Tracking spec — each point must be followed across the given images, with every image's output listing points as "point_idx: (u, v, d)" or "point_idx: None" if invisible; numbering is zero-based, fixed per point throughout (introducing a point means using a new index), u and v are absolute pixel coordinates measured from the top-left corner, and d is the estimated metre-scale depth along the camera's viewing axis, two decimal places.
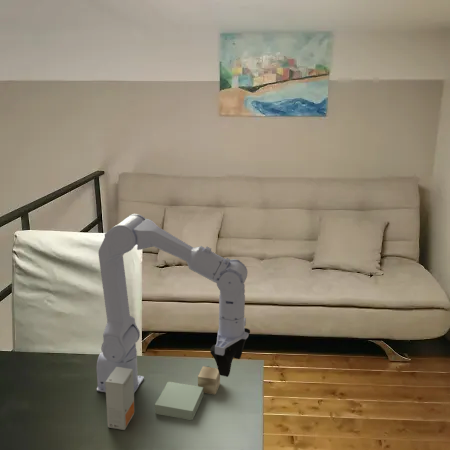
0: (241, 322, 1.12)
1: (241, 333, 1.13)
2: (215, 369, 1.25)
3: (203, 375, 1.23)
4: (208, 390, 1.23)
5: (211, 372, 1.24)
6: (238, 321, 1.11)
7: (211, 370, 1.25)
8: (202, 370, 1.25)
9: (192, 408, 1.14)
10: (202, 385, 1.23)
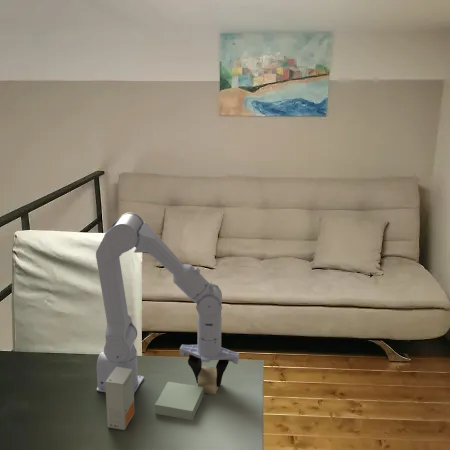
0: (203, 344, 1.19)
1: (203, 354, 1.20)
2: (215, 369, 1.25)
3: (203, 375, 1.23)
4: (208, 390, 1.23)
5: (211, 372, 1.24)
6: (200, 340, 1.19)
7: (211, 370, 1.25)
8: (202, 370, 1.25)
9: (192, 408, 1.14)
10: (201, 385, 1.23)
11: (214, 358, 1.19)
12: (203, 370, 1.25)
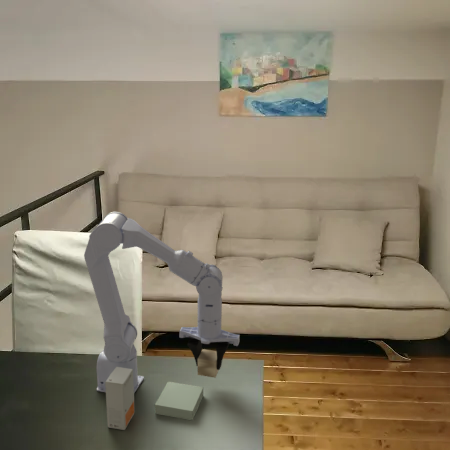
0: (203, 325, 1.17)
1: (203, 336, 1.18)
2: (215, 352, 1.24)
3: (203, 358, 1.21)
4: (208, 373, 1.21)
5: (211, 355, 1.23)
6: (200, 322, 1.18)
7: (211, 353, 1.23)
8: (202, 353, 1.23)
9: (192, 408, 1.14)
10: (201, 368, 1.21)
11: (214, 340, 1.18)
12: (203, 353, 1.23)
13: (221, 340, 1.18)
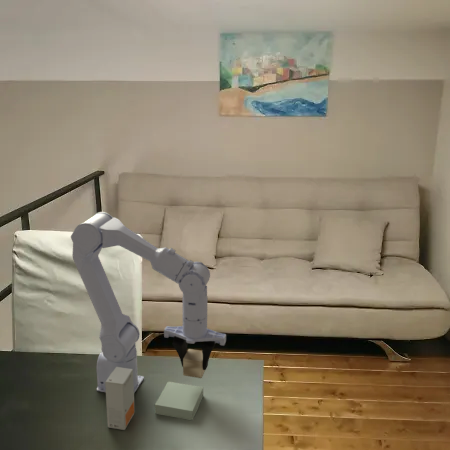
0: (188, 324, 1.14)
1: (188, 335, 1.14)
2: (201, 352, 1.20)
3: (189, 358, 1.18)
4: (194, 373, 1.18)
5: (197, 355, 1.19)
6: (185, 320, 1.14)
7: (197, 352, 1.20)
8: (188, 353, 1.20)
9: (192, 408, 1.14)
10: (187, 368, 1.18)
11: (200, 339, 1.14)
12: (189, 353, 1.20)
13: (207, 339, 1.15)
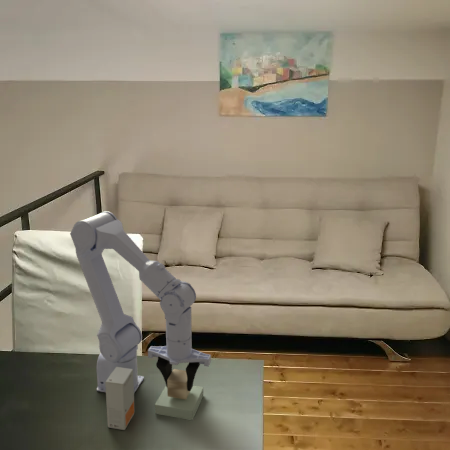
0: (171, 345, 1.11)
1: (172, 356, 1.12)
2: None
3: (173, 379, 1.15)
4: (178, 394, 1.16)
5: (181, 375, 1.17)
6: (168, 341, 1.12)
7: (182, 373, 1.18)
8: (172, 373, 1.18)
9: (192, 408, 1.14)
10: (171, 389, 1.16)
11: (183, 360, 1.12)
12: (173, 373, 1.17)
13: (191, 361, 1.12)
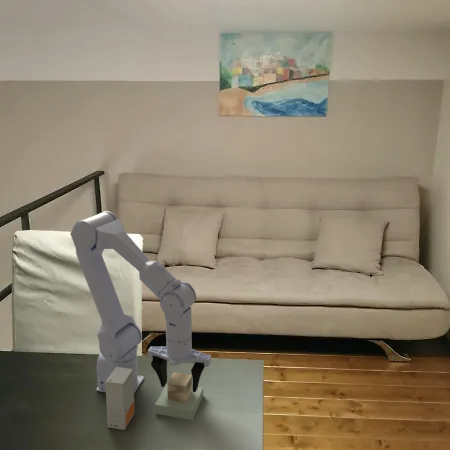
0: (171, 345, 1.11)
1: (172, 357, 1.12)
2: (186, 375, 1.18)
3: (173, 382, 1.16)
4: (178, 398, 1.16)
5: (182, 379, 1.17)
6: (168, 342, 1.12)
7: (182, 376, 1.18)
8: (172, 376, 1.18)
9: (192, 408, 1.14)
10: (171, 392, 1.16)
11: (184, 361, 1.12)
12: (173, 377, 1.18)
13: (191, 361, 1.12)
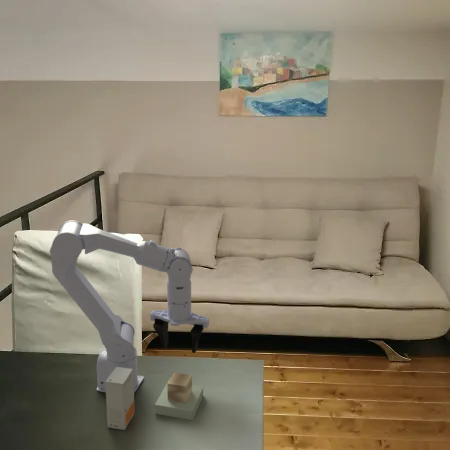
0: (172, 307, 1.19)
1: (173, 318, 1.20)
2: (186, 375, 1.18)
3: (173, 382, 1.16)
4: (178, 398, 1.16)
5: (182, 379, 1.17)
6: (169, 304, 1.19)
7: (182, 376, 1.18)
8: (172, 376, 1.18)
9: (192, 408, 1.14)
10: (171, 392, 1.16)
11: (183, 322, 1.19)
12: (173, 377, 1.18)
13: (190, 322, 1.20)
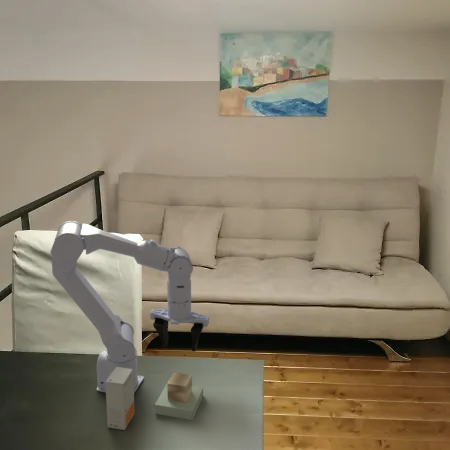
0: (172, 306, 1.19)
1: (173, 317, 1.20)
2: (186, 375, 1.18)
3: (173, 382, 1.16)
4: (178, 398, 1.16)
5: (182, 379, 1.17)
6: (169, 303, 1.20)
7: (182, 376, 1.18)
8: (172, 376, 1.18)
9: (192, 408, 1.14)
10: (171, 392, 1.16)
11: (184, 321, 1.20)
12: (173, 377, 1.18)
13: (190, 321, 1.20)
